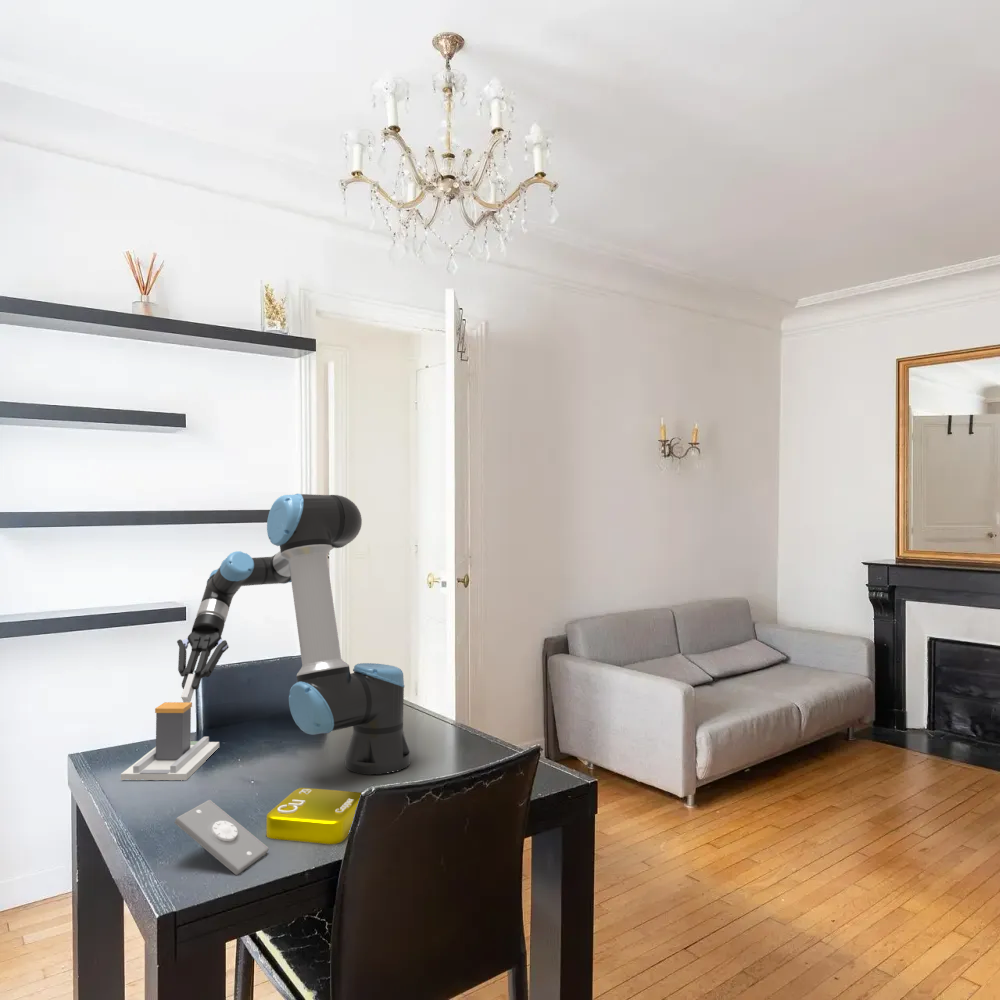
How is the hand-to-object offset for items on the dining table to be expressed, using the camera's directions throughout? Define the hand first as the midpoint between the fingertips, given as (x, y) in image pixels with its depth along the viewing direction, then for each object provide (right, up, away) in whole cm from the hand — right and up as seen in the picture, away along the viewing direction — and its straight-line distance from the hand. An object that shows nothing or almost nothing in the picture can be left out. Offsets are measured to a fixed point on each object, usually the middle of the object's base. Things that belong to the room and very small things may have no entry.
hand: (185, 700), depth 186 cm
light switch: (+29, -13, -55) cm, 63 cm away
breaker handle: (+1, -11, -9) cm, 14 cm away
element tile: (+42, -14, -41) cm, 60 cm away
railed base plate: (+1, -13, -9) cm, 15 cm away
